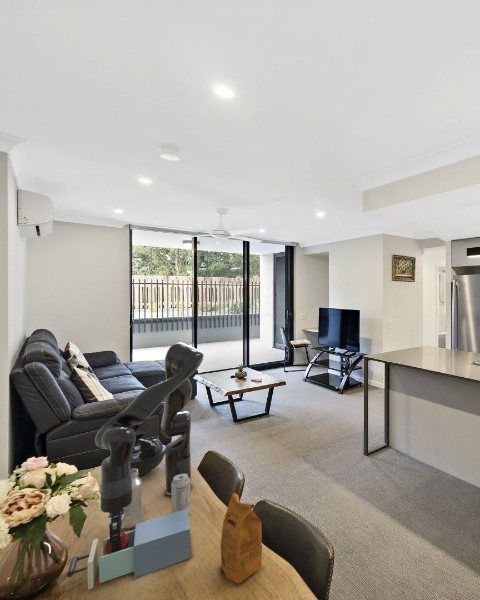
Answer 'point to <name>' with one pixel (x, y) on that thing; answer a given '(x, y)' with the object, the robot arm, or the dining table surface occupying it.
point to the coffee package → (240, 541)
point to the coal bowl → (146, 454)
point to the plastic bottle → (134, 502)
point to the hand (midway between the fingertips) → (117, 544)
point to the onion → (123, 543)
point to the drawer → (106, 562)
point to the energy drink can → (180, 493)
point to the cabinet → (161, 542)
